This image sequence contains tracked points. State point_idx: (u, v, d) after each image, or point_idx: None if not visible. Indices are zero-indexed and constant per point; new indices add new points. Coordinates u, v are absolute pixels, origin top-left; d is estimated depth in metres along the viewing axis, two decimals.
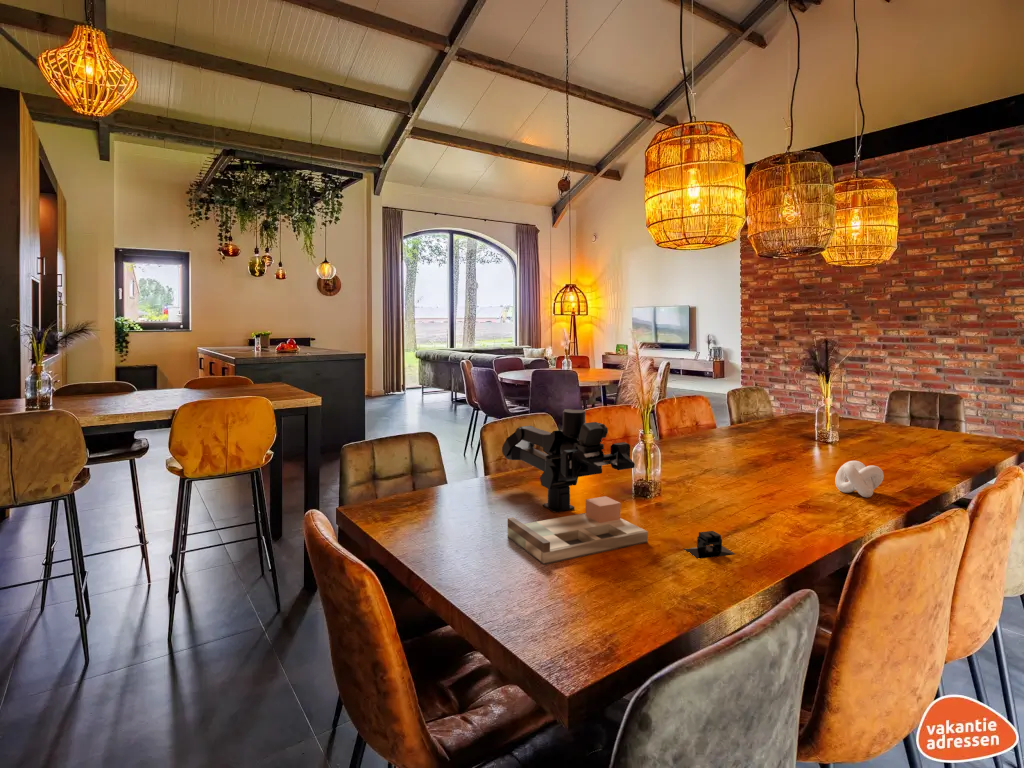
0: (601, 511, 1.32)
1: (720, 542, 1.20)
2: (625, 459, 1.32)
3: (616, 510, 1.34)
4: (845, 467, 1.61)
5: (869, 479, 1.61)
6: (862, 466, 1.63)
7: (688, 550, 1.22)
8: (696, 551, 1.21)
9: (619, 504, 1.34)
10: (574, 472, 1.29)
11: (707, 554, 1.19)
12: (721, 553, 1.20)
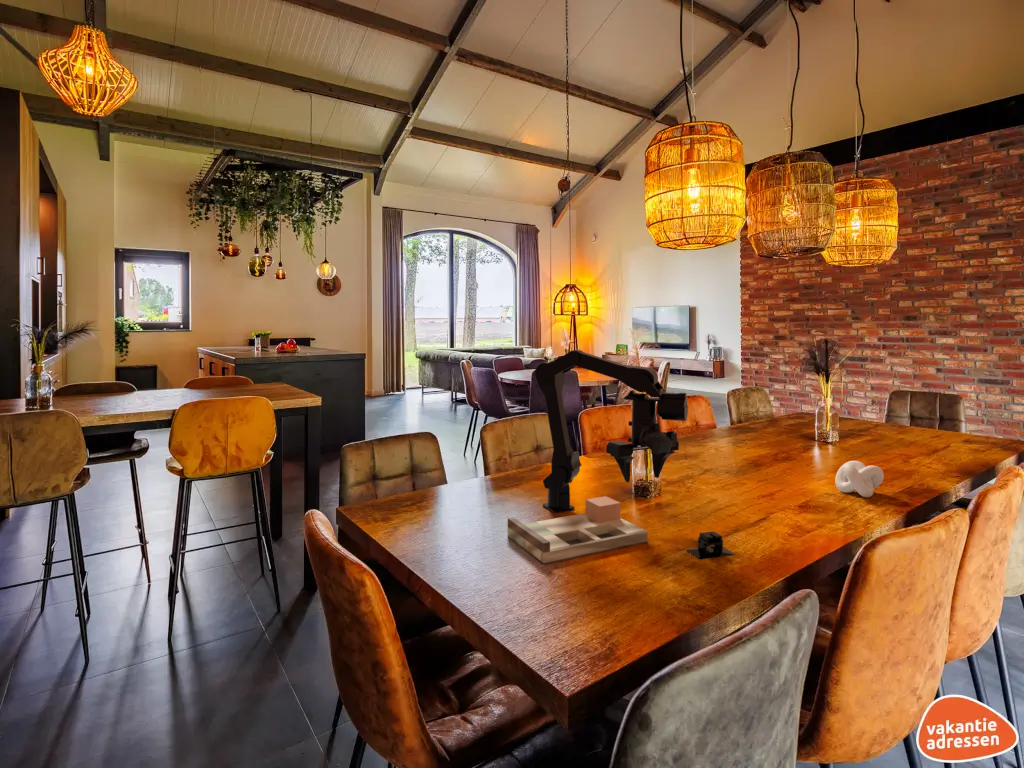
0: (601, 511, 1.32)
1: (721, 543, 1.20)
2: (658, 465, 1.42)
3: (616, 510, 1.34)
4: (845, 467, 1.61)
5: (869, 479, 1.61)
6: (862, 466, 1.63)
7: (689, 551, 1.21)
8: (697, 552, 1.20)
9: (619, 504, 1.34)
10: None
11: (708, 555, 1.19)
12: (721, 554, 1.19)
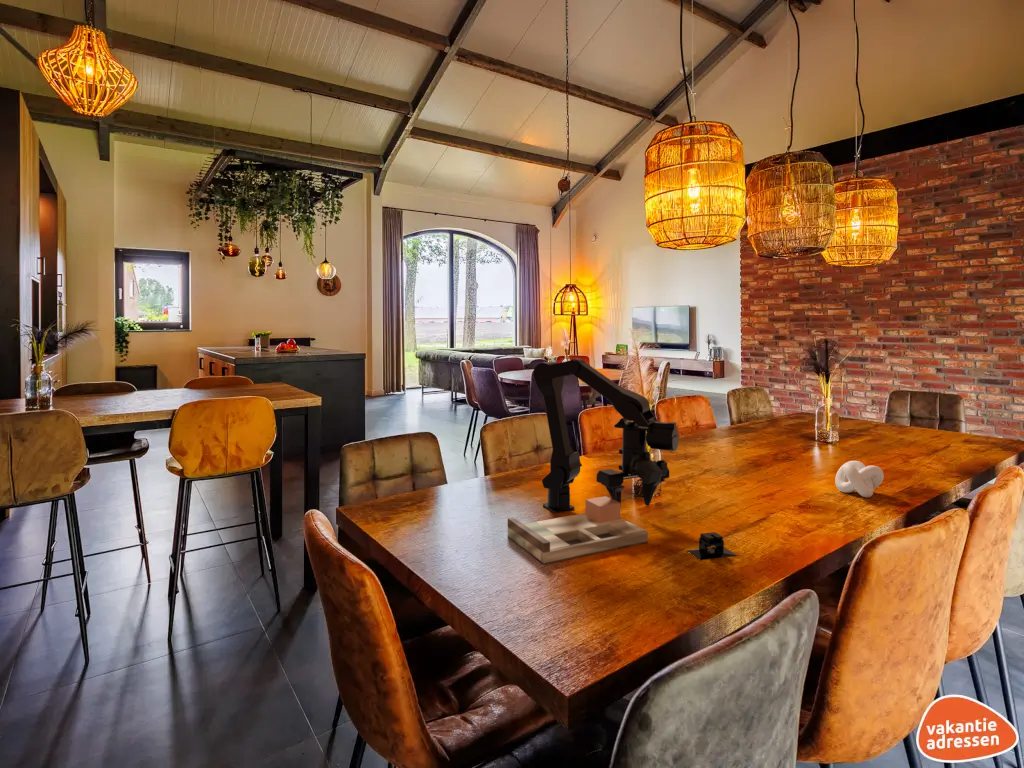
0: (601, 511, 1.32)
1: (722, 543, 1.19)
2: (649, 493, 1.41)
3: (616, 510, 1.34)
4: (845, 467, 1.61)
5: (869, 479, 1.61)
6: (862, 466, 1.63)
7: (690, 551, 1.21)
8: (698, 552, 1.20)
9: (619, 504, 1.34)
10: None
11: (709, 555, 1.18)
12: (722, 555, 1.19)
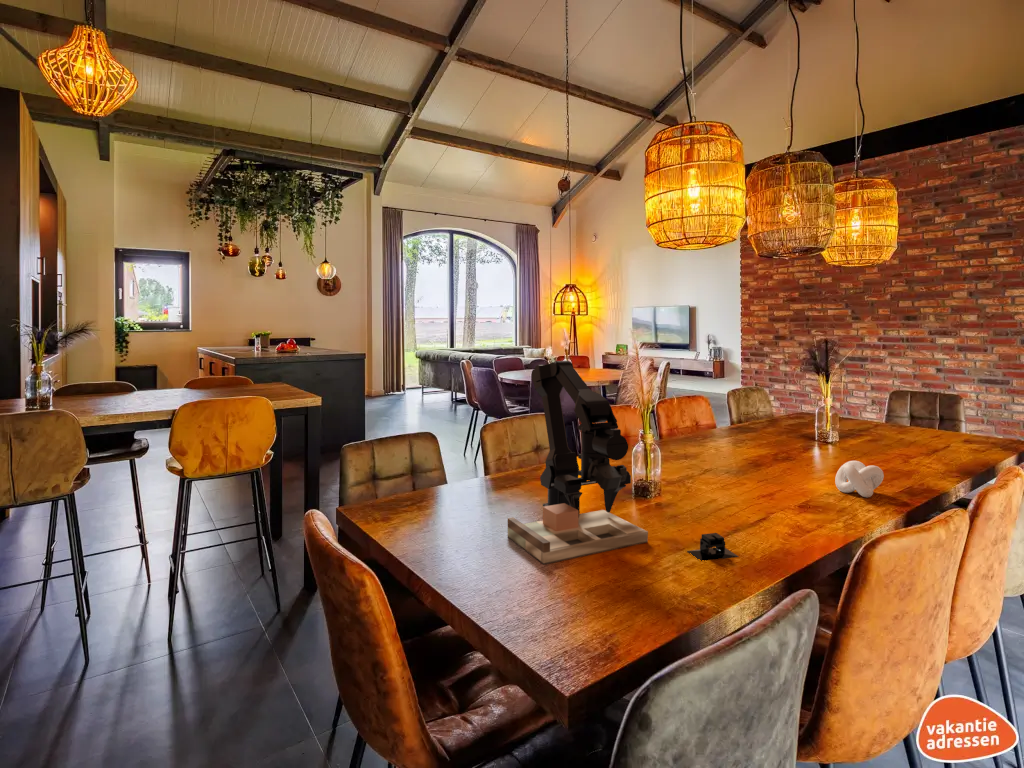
0: (558, 519, 1.26)
1: (723, 544, 1.19)
2: (609, 499, 1.36)
3: (574, 518, 1.28)
4: (845, 467, 1.61)
5: (869, 479, 1.61)
6: (862, 466, 1.63)
7: (691, 552, 1.21)
8: (699, 553, 1.20)
9: (577, 512, 1.29)
10: None
11: (710, 556, 1.18)
12: (724, 556, 1.18)
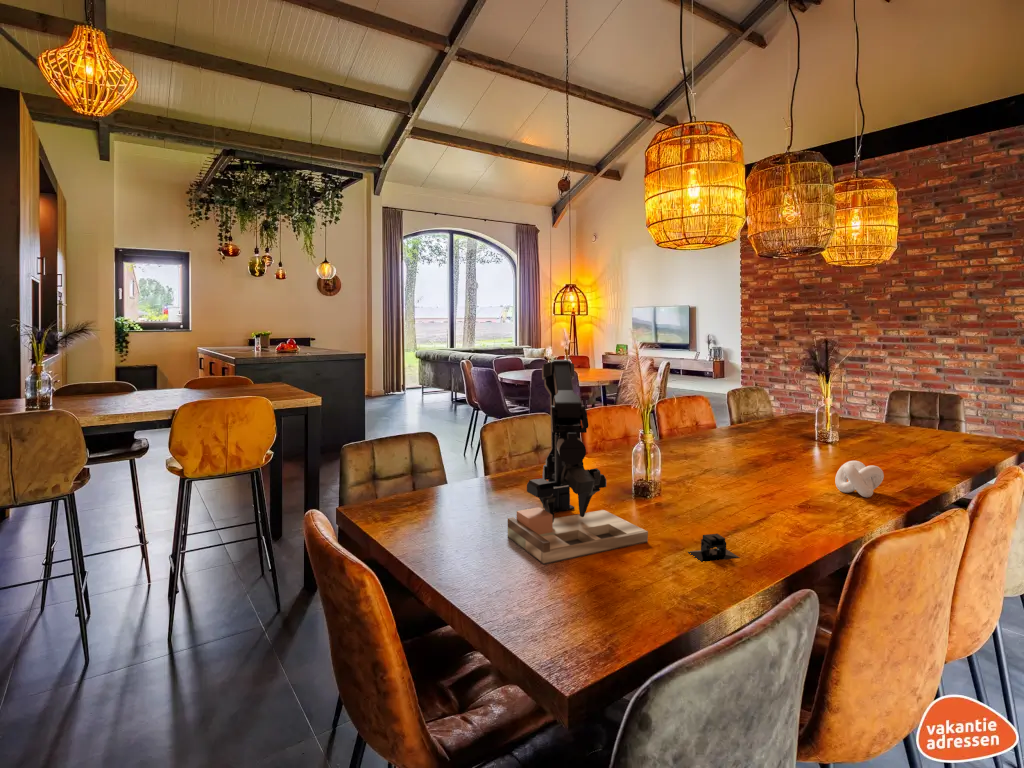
0: (531, 523, 1.23)
1: (724, 545, 1.18)
2: (583, 504, 1.32)
3: (548, 522, 1.25)
4: (845, 467, 1.61)
5: (869, 479, 1.61)
6: (862, 466, 1.63)
7: (692, 553, 1.20)
8: (700, 554, 1.19)
9: (551, 516, 1.26)
10: None
11: (711, 557, 1.17)
12: (725, 556, 1.18)
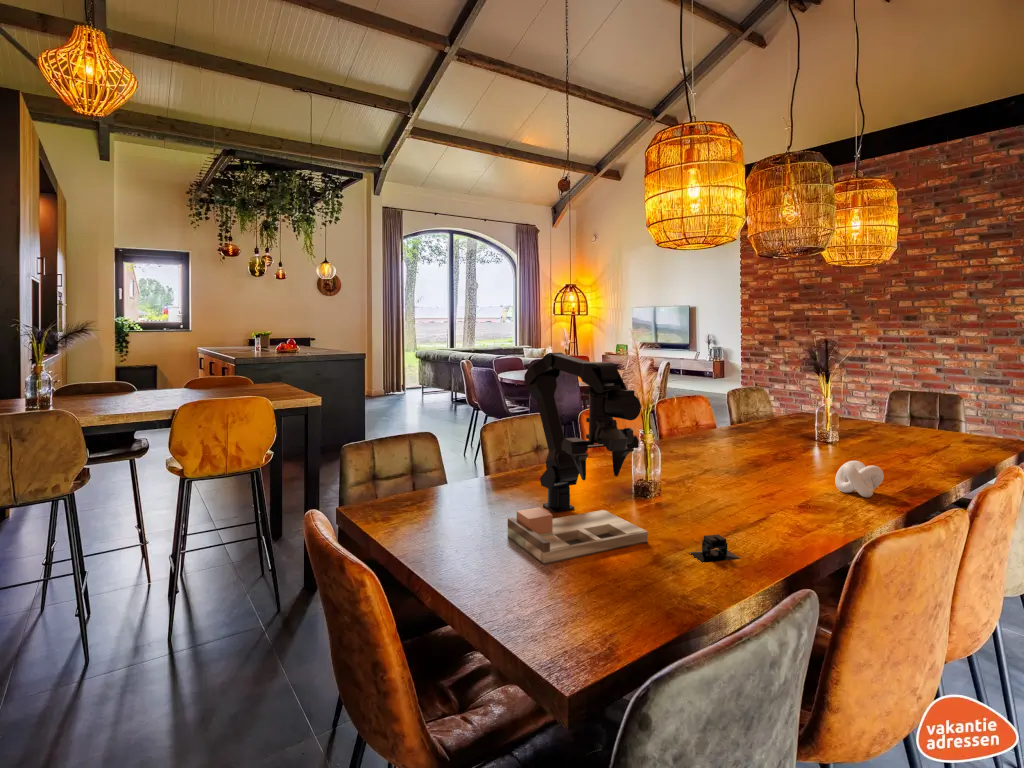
0: (530, 523, 1.23)
1: (725, 546, 1.18)
2: (617, 463, 1.37)
3: (548, 523, 1.25)
4: (845, 467, 1.61)
5: (869, 479, 1.61)
6: (862, 466, 1.63)
7: (693, 554, 1.20)
8: (701, 555, 1.19)
9: (551, 516, 1.26)
10: None
11: (712, 558, 1.17)
12: (726, 557, 1.17)
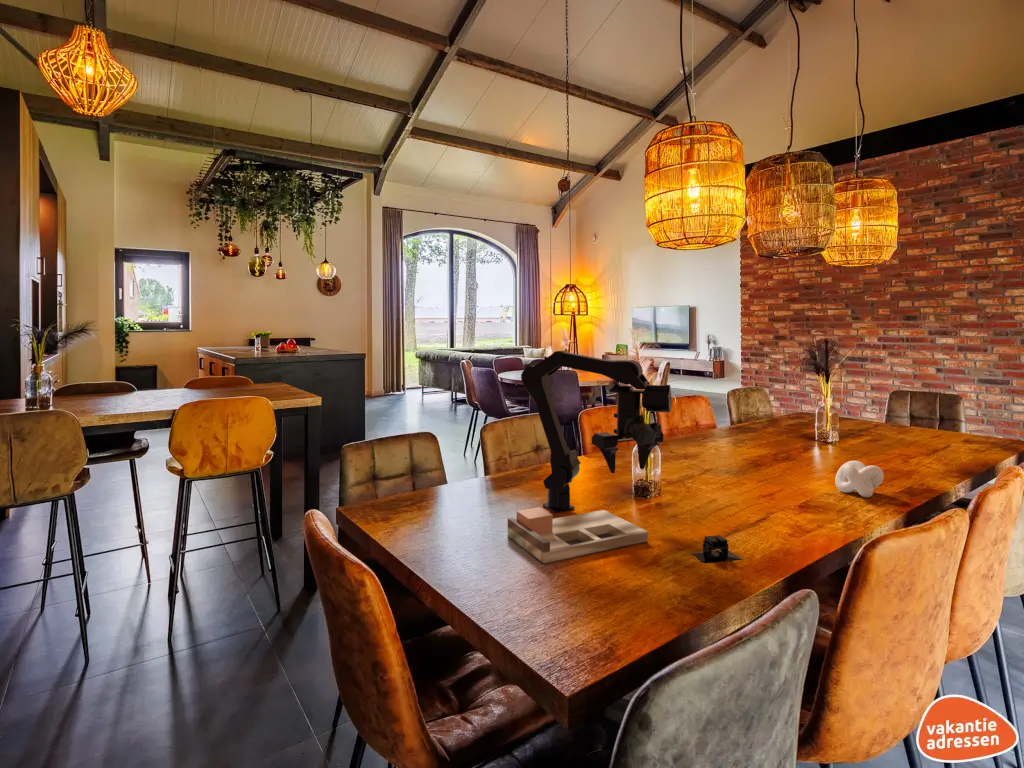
0: (530, 523, 1.23)
1: (726, 547, 1.17)
2: (643, 457, 1.44)
3: (548, 522, 1.25)
4: (845, 467, 1.61)
5: (869, 479, 1.61)
6: (862, 466, 1.63)
7: (693, 554, 1.19)
8: (701, 556, 1.18)
9: (551, 516, 1.26)
10: None
11: (713, 559, 1.17)
12: (727, 558, 1.17)
